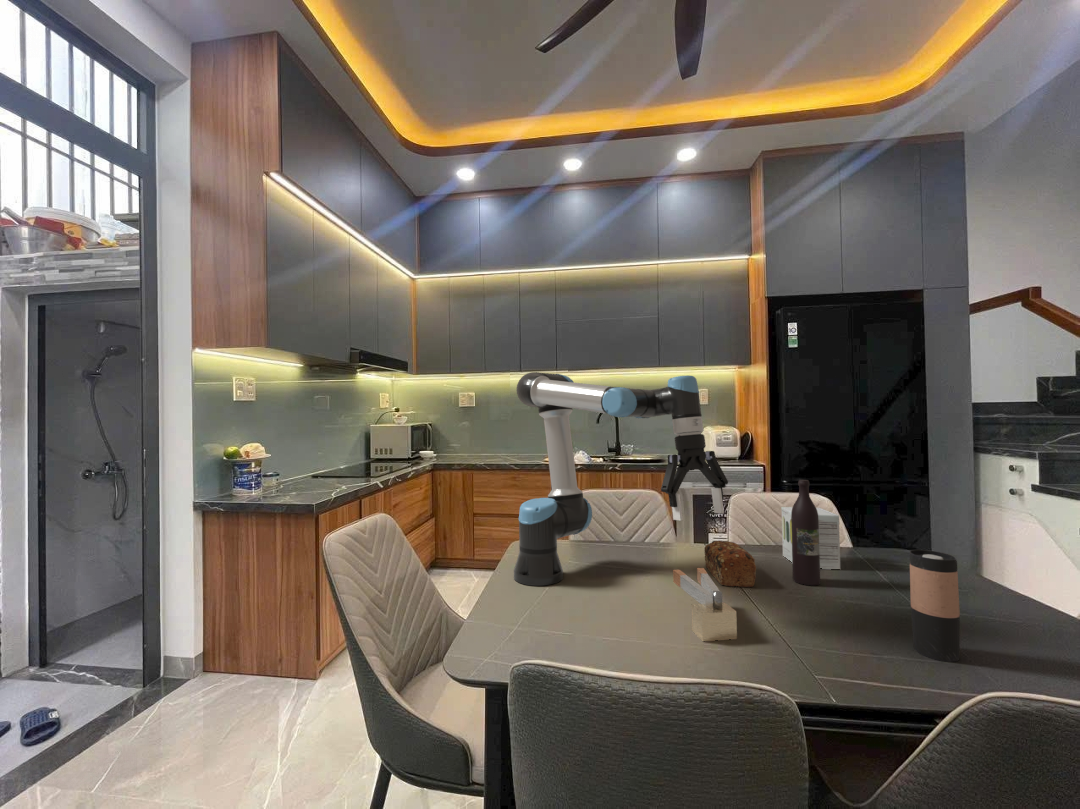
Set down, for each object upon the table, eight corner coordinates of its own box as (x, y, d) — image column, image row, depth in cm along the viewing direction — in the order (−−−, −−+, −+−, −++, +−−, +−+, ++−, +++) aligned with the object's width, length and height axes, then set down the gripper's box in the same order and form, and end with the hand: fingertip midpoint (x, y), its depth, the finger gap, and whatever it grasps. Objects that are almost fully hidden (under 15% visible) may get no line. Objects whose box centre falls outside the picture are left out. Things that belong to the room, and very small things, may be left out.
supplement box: (781, 556, 159) (780, 506, 160) (821, 557, 158) (820, 507, 158) (797, 568, 146) (796, 514, 147) (841, 570, 145) (840, 515, 145)
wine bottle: (794, 584, 132) (791, 481, 133) (791, 576, 139) (788, 478, 140) (822, 587, 130) (819, 482, 131) (817, 579, 136) (815, 479, 137)
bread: (757, 588, 130) (756, 553, 130) (718, 587, 131) (717, 552, 131) (737, 567, 148) (736, 536, 148) (703, 566, 149) (702, 536, 150)
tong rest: (665, 605, 118) (665, 570, 118) (694, 603, 119) (694, 568, 119) (702, 641, 99) (701, 599, 99) (736, 639, 100) (736, 597, 100)
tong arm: (696, 580, 119) (696, 567, 119) (704, 580, 119) (704, 567, 119) (714, 608, 101) (713, 593, 101) (723, 608, 101) (723, 594, 101)
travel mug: (902, 644, 97) (899, 550, 97) (935, 643, 97) (932, 548, 98) (936, 663, 89) (932, 561, 90) (972, 661, 90) (968, 559, 90)
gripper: (659, 436, 111) (669, 524, 109) (735, 430, 121) (746, 511, 119) (641, 438, 118) (650, 521, 115) (714, 432, 128) (724, 509, 125)
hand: (699, 516), depth 117 cm, fingers open, 13 cm apart
